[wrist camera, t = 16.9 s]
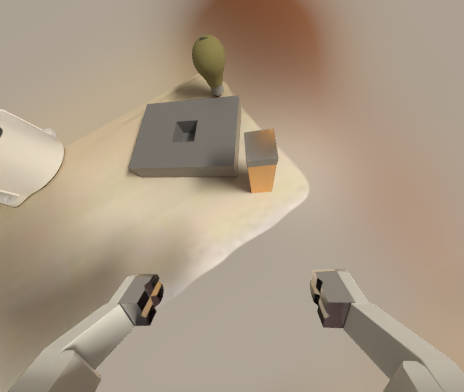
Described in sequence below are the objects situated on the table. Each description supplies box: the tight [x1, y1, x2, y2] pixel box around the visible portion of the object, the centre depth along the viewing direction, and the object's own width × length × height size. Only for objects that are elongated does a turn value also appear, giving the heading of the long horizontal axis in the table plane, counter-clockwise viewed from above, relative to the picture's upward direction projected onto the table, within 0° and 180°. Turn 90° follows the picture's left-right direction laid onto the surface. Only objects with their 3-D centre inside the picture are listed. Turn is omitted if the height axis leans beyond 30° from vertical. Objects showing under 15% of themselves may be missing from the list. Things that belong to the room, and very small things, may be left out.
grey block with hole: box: [129, 96, 241, 177], centre depth 31 cm, size 18×14×4 cm
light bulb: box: [192, 35, 225, 96], centre depth 31 cm, size 6×6×10 cm
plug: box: [244, 128, 278, 193], centre depth 23 cm, size 3×4×10 cm
